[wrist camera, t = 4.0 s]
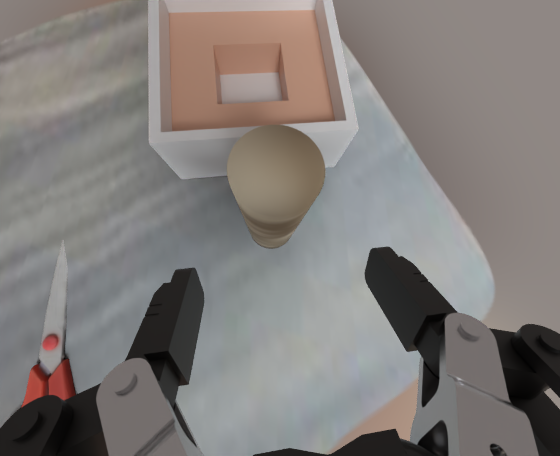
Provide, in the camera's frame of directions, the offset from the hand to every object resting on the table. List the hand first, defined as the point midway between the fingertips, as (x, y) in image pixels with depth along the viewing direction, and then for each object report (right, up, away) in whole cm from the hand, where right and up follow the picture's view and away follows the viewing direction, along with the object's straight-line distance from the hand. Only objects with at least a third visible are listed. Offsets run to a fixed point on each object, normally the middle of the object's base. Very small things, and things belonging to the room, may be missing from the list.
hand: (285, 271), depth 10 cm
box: (-3, +15, +13) cm, 20 cm away
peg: (-1, +2, +10) cm, 11 cm away
